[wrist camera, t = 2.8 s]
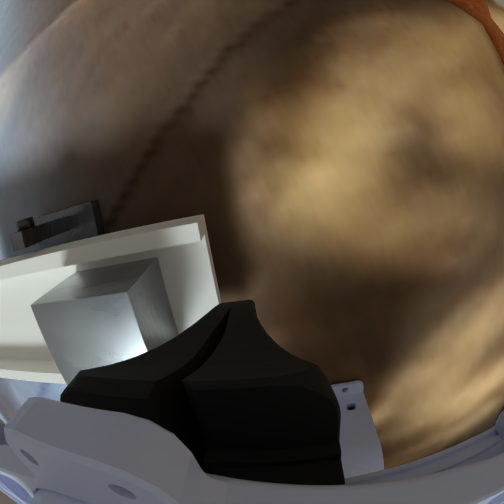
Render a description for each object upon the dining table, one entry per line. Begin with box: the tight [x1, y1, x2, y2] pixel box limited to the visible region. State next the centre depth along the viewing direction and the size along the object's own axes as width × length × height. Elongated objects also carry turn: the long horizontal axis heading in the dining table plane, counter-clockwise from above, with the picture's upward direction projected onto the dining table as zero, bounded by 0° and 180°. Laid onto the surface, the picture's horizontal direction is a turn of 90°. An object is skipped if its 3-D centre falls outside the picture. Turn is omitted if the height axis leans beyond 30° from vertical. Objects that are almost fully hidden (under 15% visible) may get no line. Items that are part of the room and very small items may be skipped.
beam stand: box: [11, 200, 104, 251], centre depth 17 cm, size 6×12×6 cm, turn 9°
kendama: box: [449, 0, 504, 64], centre depth 10 cm, size 6×6×20 cm
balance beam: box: [0, 214, 222, 384], centre depth 14 cm, size 22×8×3 cm, turn 99°
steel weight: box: [30, 257, 179, 386], centre depth 12 cm, size 5×5×4 cm
